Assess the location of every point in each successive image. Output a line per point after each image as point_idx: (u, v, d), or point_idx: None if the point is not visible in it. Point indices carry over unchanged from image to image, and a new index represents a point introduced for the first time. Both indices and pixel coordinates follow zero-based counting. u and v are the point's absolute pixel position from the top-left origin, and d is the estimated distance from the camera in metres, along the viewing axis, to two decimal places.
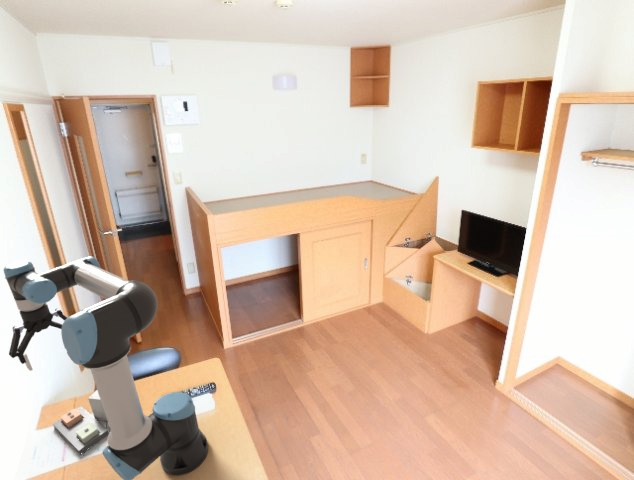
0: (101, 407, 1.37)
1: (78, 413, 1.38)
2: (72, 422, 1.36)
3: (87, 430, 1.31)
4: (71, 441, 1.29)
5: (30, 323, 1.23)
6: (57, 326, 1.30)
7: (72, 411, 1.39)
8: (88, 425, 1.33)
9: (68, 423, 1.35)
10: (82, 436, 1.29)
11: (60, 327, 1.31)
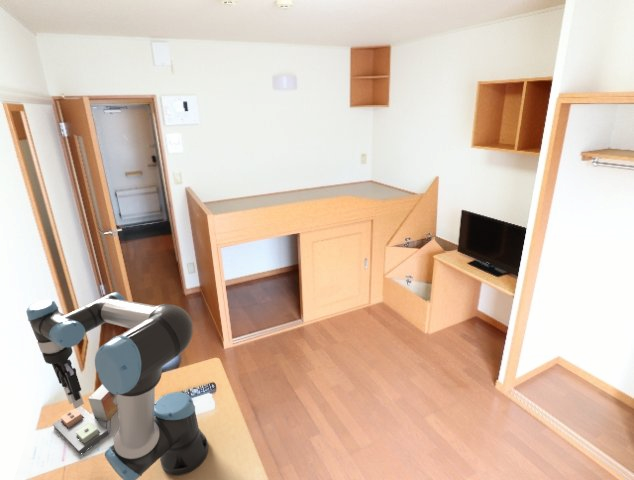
0: (101, 407, 1.37)
1: (78, 413, 1.38)
2: (72, 422, 1.36)
3: (87, 430, 1.31)
4: (71, 441, 1.29)
5: None
6: (64, 379, 1.20)
7: (72, 411, 1.39)
8: (88, 425, 1.33)
9: (68, 423, 1.35)
10: (82, 436, 1.29)
11: (65, 381, 1.20)
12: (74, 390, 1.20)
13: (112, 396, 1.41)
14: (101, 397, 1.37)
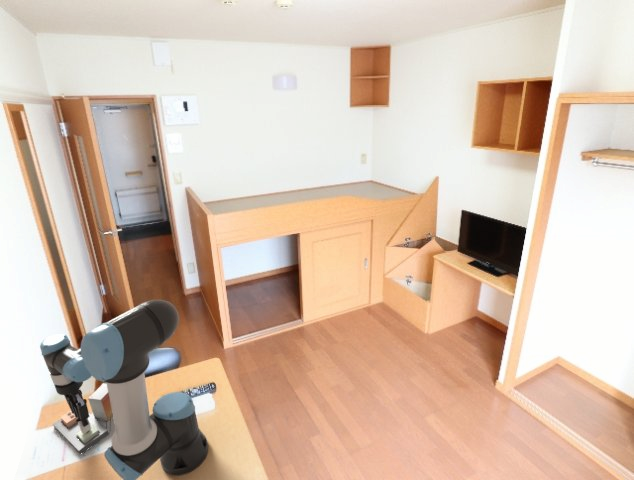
0: (101, 407, 1.37)
1: None
2: (72, 422, 1.36)
3: (88, 431, 1.31)
4: (71, 441, 1.29)
5: None
6: (74, 407, 1.25)
7: None
8: None
9: (68, 423, 1.35)
10: (83, 437, 1.29)
11: (75, 410, 1.25)
12: (83, 418, 1.25)
13: None
14: (101, 397, 1.37)
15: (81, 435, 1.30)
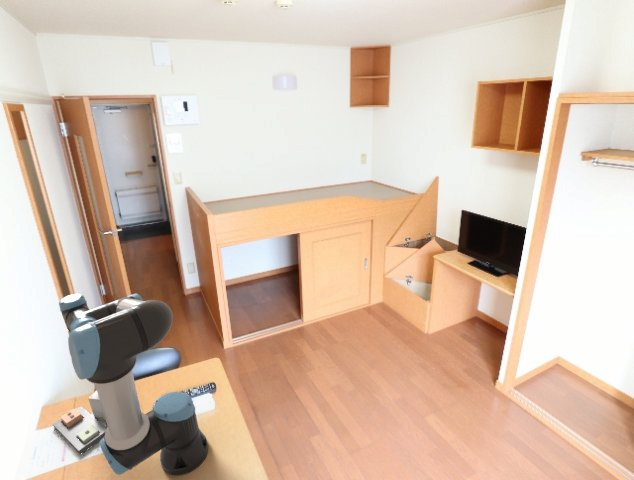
0: (101, 407, 1.37)
1: (78, 413, 1.38)
2: (72, 422, 1.36)
3: (88, 432, 1.31)
4: (71, 441, 1.29)
5: None
6: None
7: (72, 411, 1.39)
8: (89, 427, 1.33)
9: (68, 423, 1.35)
10: (83, 438, 1.29)
11: None
12: None
13: None
14: None
15: (81, 435, 1.30)
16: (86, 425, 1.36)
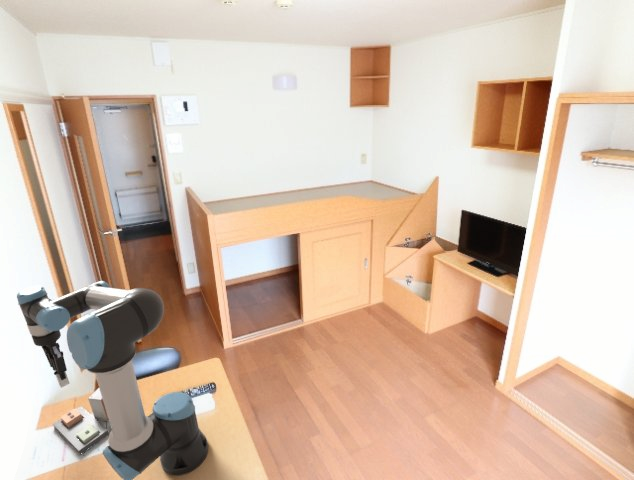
0: (101, 407, 1.37)
1: (78, 413, 1.38)
2: (72, 422, 1.36)
3: (88, 432, 1.31)
4: (71, 441, 1.29)
5: None
6: (51, 360, 1.27)
7: (72, 411, 1.39)
8: (89, 427, 1.33)
9: (68, 423, 1.35)
10: (83, 438, 1.29)
11: (52, 362, 1.28)
12: (60, 370, 1.28)
13: None
14: (101, 397, 1.37)
15: (81, 435, 1.30)
16: (86, 425, 1.36)
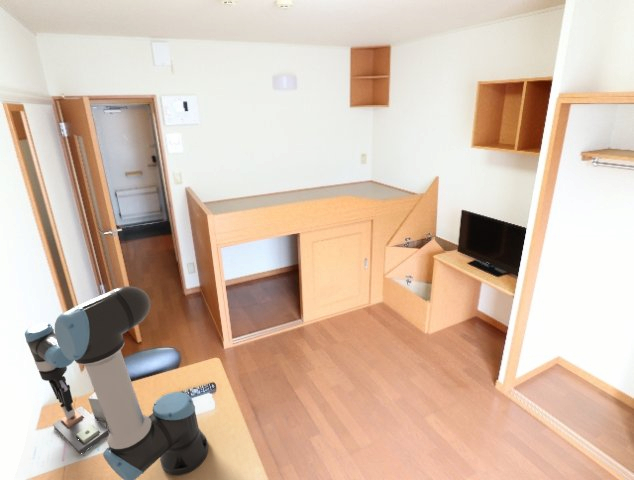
0: None
1: (79, 415, 1.39)
2: (73, 424, 1.36)
3: (88, 432, 1.31)
4: (71, 441, 1.29)
5: None
6: (58, 393, 1.32)
7: None
8: (89, 427, 1.33)
9: (69, 425, 1.35)
10: (83, 438, 1.29)
11: (59, 395, 1.32)
12: (67, 403, 1.32)
13: None
14: None
15: (81, 435, 1.30)
16: (86, 425, 1.36)
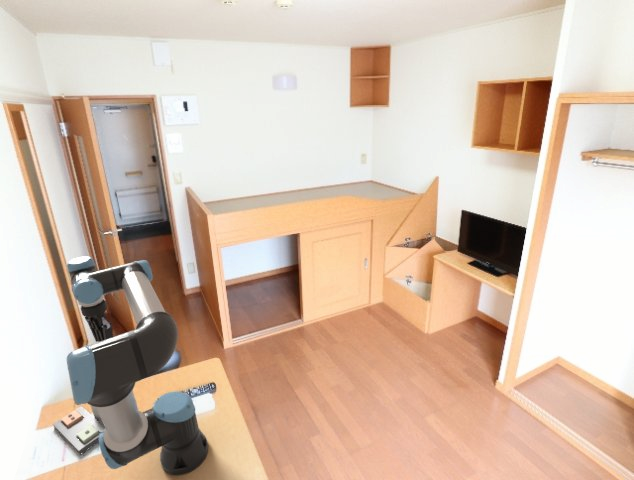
0: None
1: (79, 415, 1.39)
2: (73, 424, 1.36)
3: (88, 432, 1.31)
4: (71, 441, 1.29)
5: None
6: (99, 332, 1.27)
7: (73, 413, 1.40)
8: (89, 427, 1.33)
9: (69, 425, 1.35)
10: (83, 438, 1.29)
11: (100, 335, 1.28)
12: None
13: None
14: None
15: (81, 435, 1.30)
16: (86, 425, 1.36)
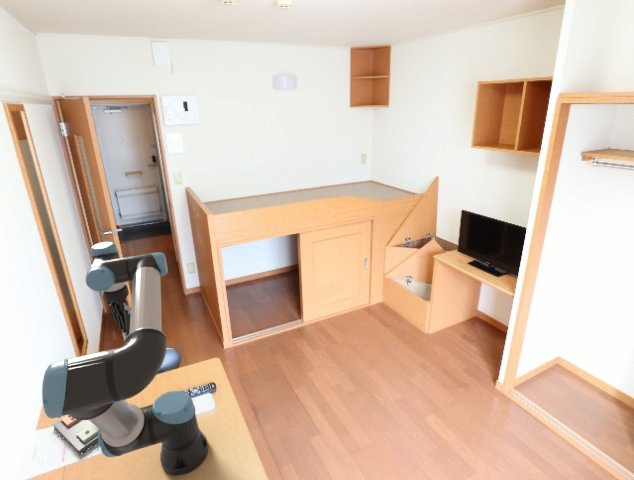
0: None
1: None
2: (73, 424, 1.36)
3: (88, 432, 1.31)
4: (71, 441, 1.29)
5: None
6: (120, 317, 1.28)
7: None
8: (89, 427, 1.33)
9: (69, 425, 1.35)
10: (83, 438, 1.29)
11: (121, 320, 1.29)
12: (129, 328, 1.28)
13: None
14: None
15: (81, 435, 1.30)
16: (86, 425, 1.36)
